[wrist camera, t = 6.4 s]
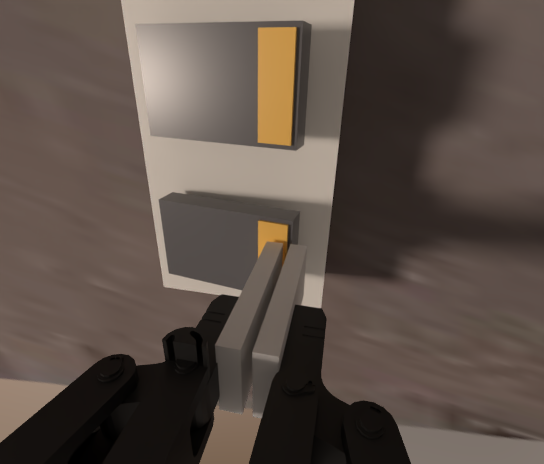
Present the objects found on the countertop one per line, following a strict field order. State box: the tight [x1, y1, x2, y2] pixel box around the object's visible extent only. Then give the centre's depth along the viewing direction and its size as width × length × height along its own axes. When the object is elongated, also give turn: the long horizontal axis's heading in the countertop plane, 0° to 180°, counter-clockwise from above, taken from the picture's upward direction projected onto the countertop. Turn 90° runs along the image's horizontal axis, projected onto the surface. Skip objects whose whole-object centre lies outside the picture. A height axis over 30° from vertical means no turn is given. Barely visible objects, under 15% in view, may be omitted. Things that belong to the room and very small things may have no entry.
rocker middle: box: [135, 21, 312, 151], centre depth 14 cm, size 4×7×1 cm, turn 89°
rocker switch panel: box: [121, 0, 355, 308], centre depth 15 cm, size 30×10×4 cm, turn 179°
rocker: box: [159, 192, 300, 290], centre depth 17 cm, size 4×7×1 cm, turn 89°
